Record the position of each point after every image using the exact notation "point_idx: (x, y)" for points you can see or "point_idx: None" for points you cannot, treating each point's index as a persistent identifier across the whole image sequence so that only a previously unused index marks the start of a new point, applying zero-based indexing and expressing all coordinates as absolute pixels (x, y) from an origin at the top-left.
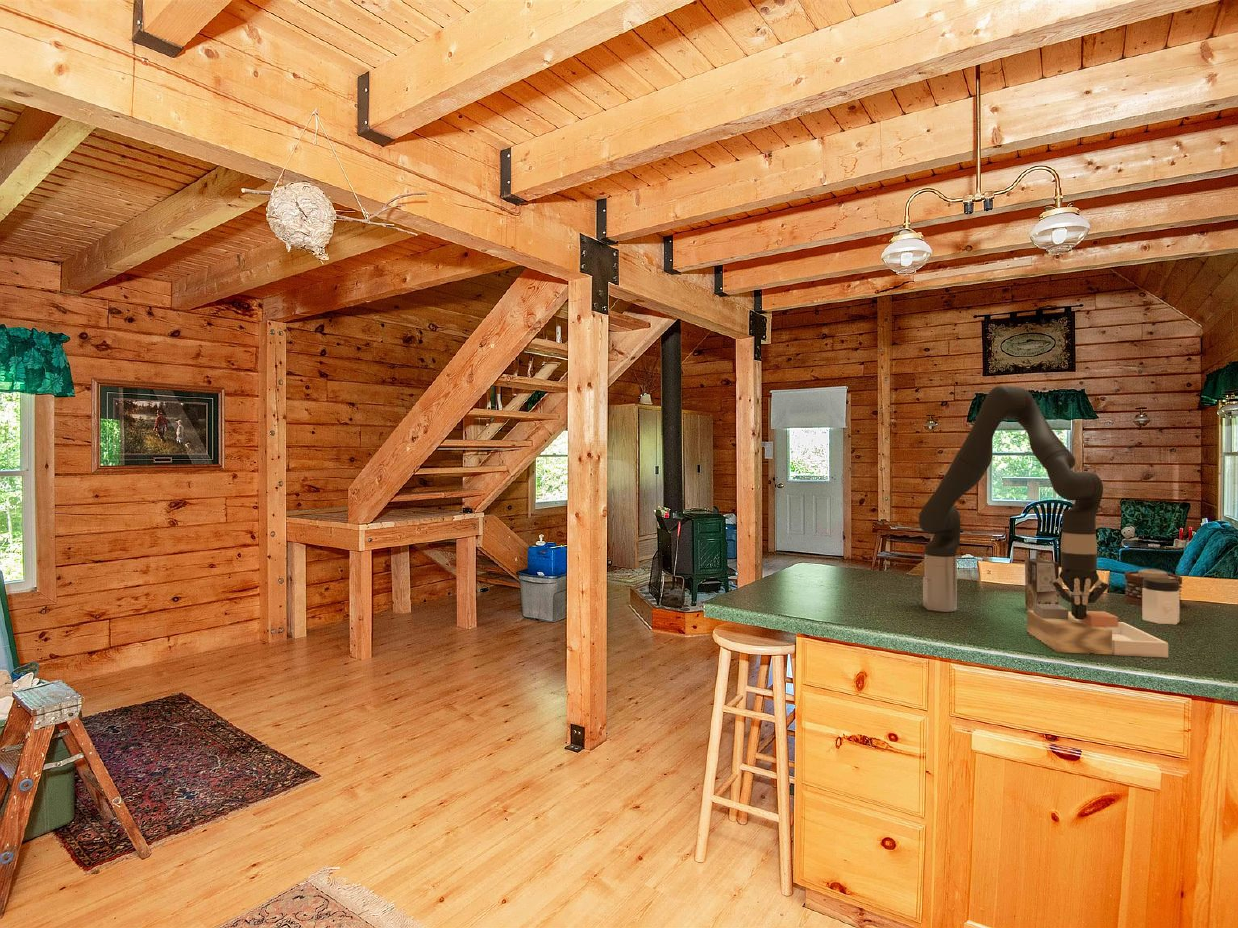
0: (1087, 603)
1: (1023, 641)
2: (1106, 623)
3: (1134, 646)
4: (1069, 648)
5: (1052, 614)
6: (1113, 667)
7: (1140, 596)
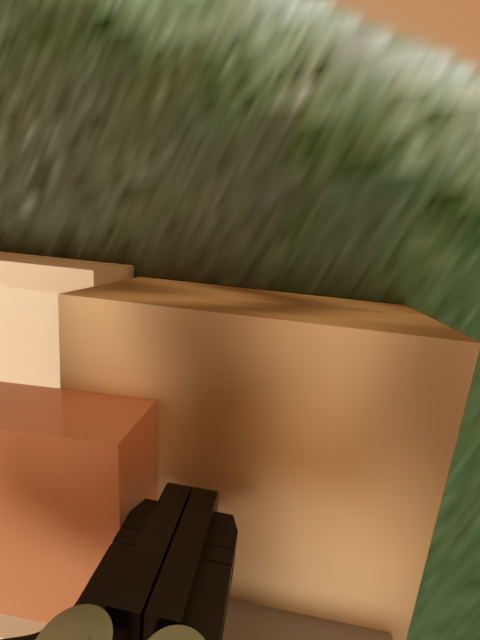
0: (42, 633)
1: (470, 496)
2: (37, 397)
3: (12, 258)
4: (345, 302)
5: None
6: (262, 10)
7: None
